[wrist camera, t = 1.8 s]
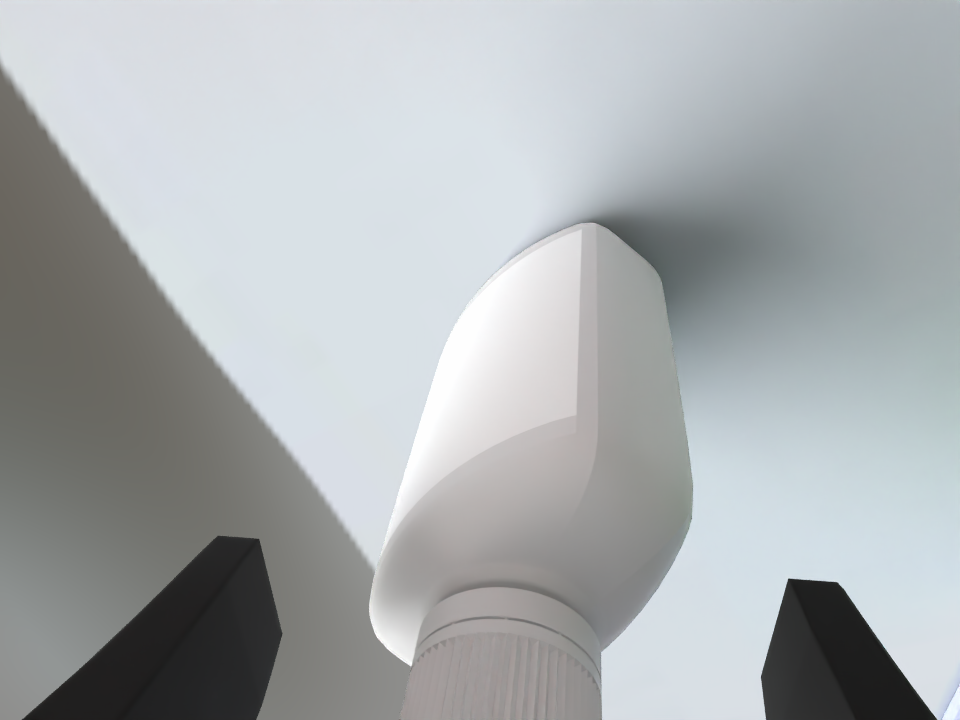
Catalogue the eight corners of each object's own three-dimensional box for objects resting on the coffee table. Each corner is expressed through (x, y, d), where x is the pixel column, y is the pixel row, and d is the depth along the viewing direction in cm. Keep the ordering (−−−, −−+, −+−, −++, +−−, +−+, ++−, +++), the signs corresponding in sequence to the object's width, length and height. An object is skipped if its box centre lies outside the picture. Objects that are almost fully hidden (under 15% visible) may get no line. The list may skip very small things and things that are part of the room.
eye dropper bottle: (392, 278, 17) (118, 842, 7) (637, 197, 16) (715, 787, 6) (467, 427, 19) (333, 1031, 9) (691, 369, 18) (821, 1030, 8)
